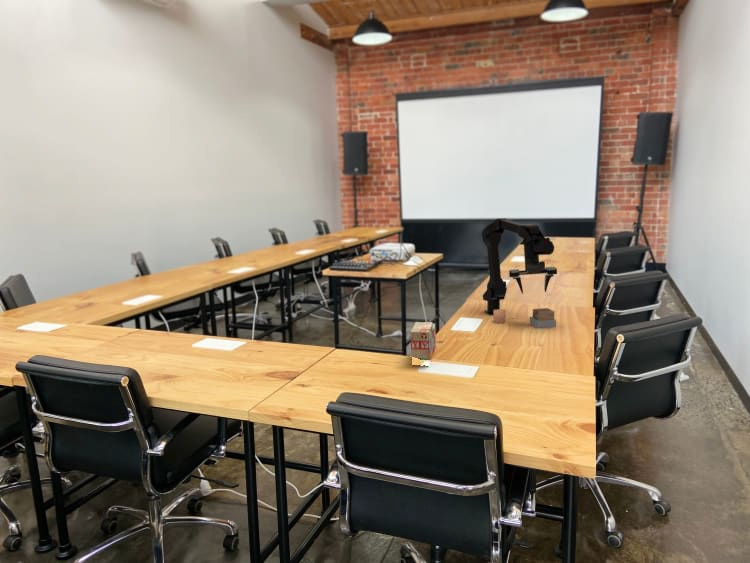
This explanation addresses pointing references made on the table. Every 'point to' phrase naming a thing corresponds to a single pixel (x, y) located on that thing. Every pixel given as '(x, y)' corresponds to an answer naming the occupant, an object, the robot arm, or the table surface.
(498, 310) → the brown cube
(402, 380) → the table surface
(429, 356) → the cardboard box
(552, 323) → the tower base
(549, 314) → the tower top
